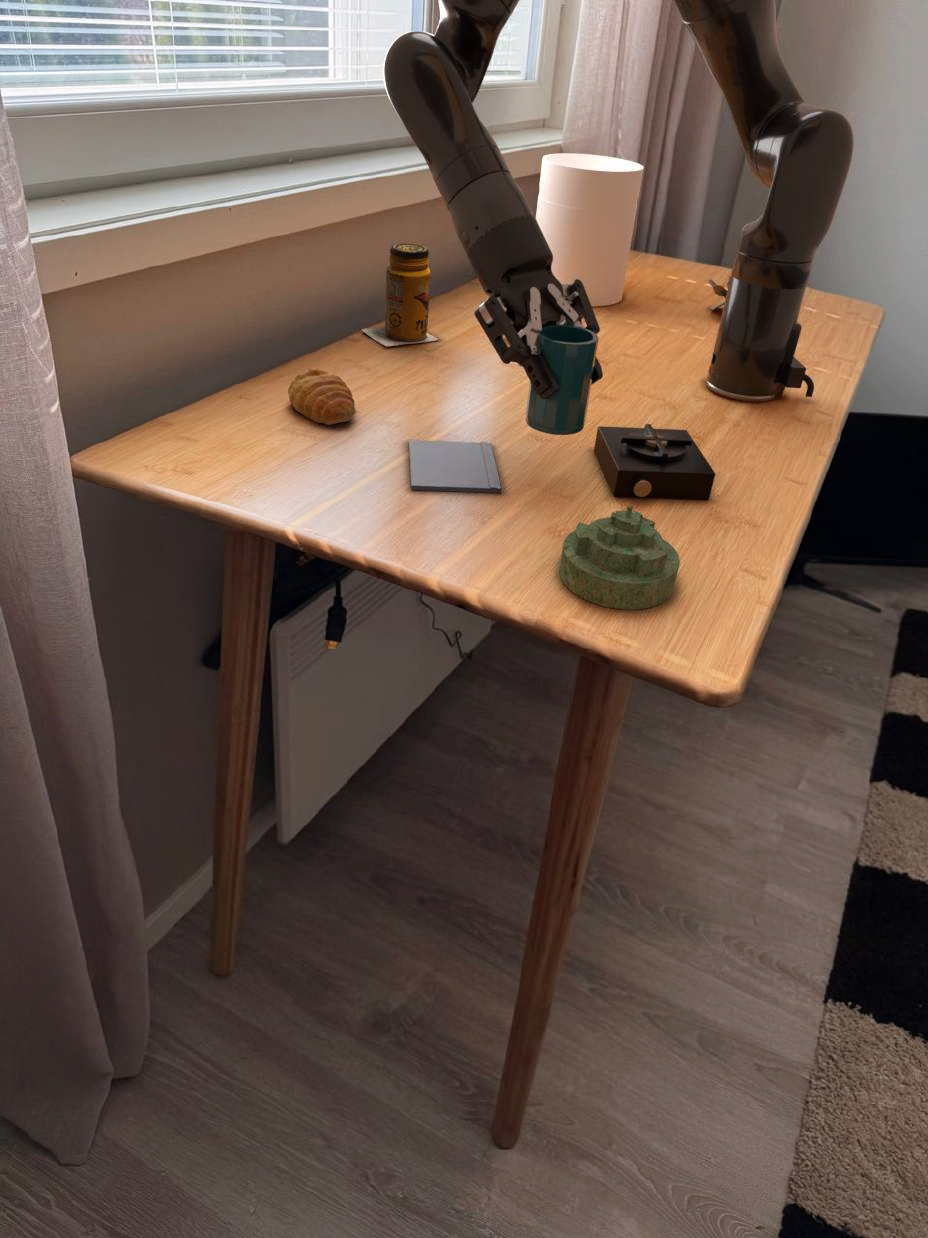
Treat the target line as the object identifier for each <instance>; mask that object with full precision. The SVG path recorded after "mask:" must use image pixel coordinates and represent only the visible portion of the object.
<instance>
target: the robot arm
mask: <svg viewBox="0 0 928 1238" xmlns="http://www.w3.org/2000/svg"><path fill="white" fill-rule="evenodd" d="M520 1H521V0H438V5H439V12H440V16H439V17H440V18H439V22H438V25H437V28H436V30H435V33H434V34H432V33H429V32H426V31H422V30H412V31H408V32H405V33H403V34H401V35H399V36H398V37H397V38H396V39H394V41H393V42H392V43H391V45H390V46H389V48H388V50H387V51H386V54H385V56H384V57H385V58H384V61H383V69H382V77H383V84H384V87H385V91H386V93H387V96H388V99H389V101H390V103H391V105H392V107H393V108H394V111H395V113H396V114H397V117H398V118H399V119H400V121H401V124H402V125H403V127H404V128H405V130H406V131H407V133H408V134H409V136H410V138H411V140H412V141H413V143H414V144H415V146H416V147H417V149H418V151H419V152H420V153H421V155H422V157H423V159H424V161H425V163H426V165H427V167H428V169H429V172H430V173H431V176H432V179H433V181H434V183H435V186H436V188H437V190H438V192H439V194H440V196H441V198H442V201H443V203H444V205H445V207H446V209H447V211H448V214H449V215H450V218H451V221H452V224H453V228H454V230H455V233H456V236H457V238H458V240H459V242H460V244H461V246H462V248H463V251H464V252H465V255H466V256H467V259H468V260H469V263H470V265H471V267H472V269H473V271H474V273H475V275H476V277H477V280H478V282H479V284H480V286H481V288H482V290H483V292H484V294H485V295H487V296H489V297H487V298H486V299H485V300H484V301H483V302H482V303H481V304H479V306H478V307H477V308H476V309H475V310H474V312H473V315H474V316H475V318H476V320H477V322H478V323H479V325H480V327H481V328H482V330H483V332H484V333H485V335H486V337H487V338H488V340H489V341H490V344H491V345H492V347H493V348H494V350H495V352H496V354H497V355H498V357H499V359H500V360H501V361H502V363H503V364H505V365H509V364H510V363H517V365H518V366H519V367H522V368H523V370H524V372H525V374H526V376H527V378H528V379H529V383H530V382H531V384H532V386H533V388H534V390H535V392H536V393H537V394H538V395H539V396H540V398H541V399H546V398H549V397H551V396H552V395H554V394H555V393H556V392H558V390H559V385H558V383H557V381H556V379H555V377H554V375H553V373H552V370H551V368H550V366H549V364H548V362H547V360H546V358H545V356H544V355H540V356H539V354H540V353H541V347H540V340H539V337H538V334H540V333H541V331H542V326H545V325H553V324H557V323H558V322H559V321H560V320H561V317H562V315H563V316H564V317H565V320H564V321H563V322H562V323H560V324H564V325H572V326H578V327H582V328H585V329H588V330H591V331H592V332H594V333H596V334H597V335H598V333H600V331H601V328H600V325H599V322H598V319H597V317H596V315H595V312H594V309H593V306H591V304H590V301H589V299H588V296H587V293H586V291H585V288H584V286H583V283H582V282H581V281H580V280H578V279H576V280H575V281H573V282H572V283H571V284H565V285H561V283H560V282H559V281H558V280H557V279H556V277H555V276H554V275H553V273H552V271H551V265H552V261H553V254H552V252H551V250H550V248H549V245H548V243H547V241H546V239H545V237H544V235H543V233H542V231H541V229H540V227H539V225H538V223H537V220H536V215H535V214H534V212H533V210H532V208H531V206H530V203H529V202H528V200H527V197H526V195H525V194H524V192H523V191H522V189H521V187H520V186H519V185H518V183H517V181H516V180H515V179H514V177H513V175H512V173H511V170H510V169H509V167H508V165H507V163H506V160H505V158H504V156H503V154H502V152H501V150H500V148H499V146H498V144H497V142H496V140H495V139H494V137H493V136H492V134H491V132H490V130H488V128H487V127H486V126H485V124H484V123H483V122H482V120H481V119H480V117H479V115H478V113H477V111H476V109H475V107H474V105H473V104H474V103H475V100H476V98H477V96H478V94H479V92H480V89H481V87H482V84H483V81H484V79H485V77H486V73H487V71H488V68H489V66H490V64H491V62H492V61H491V60H492V58H493V55H494V52H495V49H496V45H497V42H498V40H499V37H500V34H501V33H502V30H503V29H504V28H505V26H506V24H507V23H508V21H509V20H510V17H511V16H512V15H513V13H514V11H515V10H516V8H517V7H518V4H519V3H520ZM672 2H673V4H674V6H675V8H676V10H677V12H678V14H679V16H680V18H681V20H682V22H683V23H684V25H685V27H686V29H687V31H688V33H689V34H690V36H691V38H692V40H693V41H694V43H695V45H696V47H697V50H698V51H699V54H700V55H701V58H702V60H703V61H704V63H705V65H706V67H707V69H708V71H709V72H710V74H711V76H712V78H713V79H714V82H715V83H716V84H717V87H718V89H719V90H720V92H721V94H722V97H723V99H724V101H725V104H726V105H727V108H728V110H729V113H730V116H731V119H732V122H733V124H734V127H735V129H736V132H737V135H738V138H739V140H740V144H741V148H742V150H743V153H744V155H745V158H746V161H747V163H748V166H749V168H750V170H751V171H752V173H753V175H754V176H755V177H756V178H757V179H758V181H759V182H760V183H762V184H764V185H765V186H767V187H769V192H768V195H767V198H766V201H765V205H764V208H763V211H762V213H761V215H760V216H759V217H758V218H757V219H756V220H752V221H749V222H747V223H745V225H744V226H743V227H742V228H741V231H740V235H739V239H738V243H737V248H736V250H735V251H736V252H735V256H734V261H733V263H732V269H731V274H730V282H729V286H728V288H727V289H726V290H727V295H726V298H724V301H725V303H724V305H723V309H722V313H721V316H720V321H719V324H718V325H719V326H718V330H717V334H716V337H715V343H714V348H712V350H711V353H710V365H709V367H708V373H707V376H706V380H705V386H706V387H707V388H708V389H709V390H710V391H712V392H714V393H716V394H717V395H720V396H723V397H725V398H729V399H733V400H737V401H744V402H754V403H755V402H758V403H759V402H768V401H771V400H775V399H778V400H779V399H783V396H784V393H785V389H786V388H788V389H801V388H802V384H803V382H804V383H805V384H806V388H807V389H806V392H805V398H813V394H814V391H815V384H814V381H813V379H812V378H811V377H810V376H809V374H806V371H807V368H806V367H805V365H804V364H803V363H802V362H801V361H799V359H797V358H796V357H795V354H796V350H797V346H798V343H799V340H800V336H801V332H802V325H801V324H800V323H799V322H798V319H799V316H800V315H799V314H800V311H801V307H802V304H803V300H804V297H805V293H806V289H807V286H808V282H809V279H810V275H811V271H812V268H813V264H814V261H815V258H816V254H817V252H818V251H817V250H818V248H819V246H820V245H821V243H822V242H823V241H824V239H825V238H826V236H827V235H828V233H829V231H830V229H831V227H832V223H833V220H834V218H835V215H836V212H837V208H838V206H839V203H840V199H841V197H842V194H843V192H844V191H843V190H844V188H845V186H846V185H845V184H846V181H847V178H848V175H849V171H850V168H851V164H852V160H853V156H854V155H853V154H854V144H855V141H854V132H853V128H852V125H851V123H850V122H849V120H848V118H847V117H845V115H844V114H842V113H840V112H839V111H837V110H834V109H830V108H827V107H824V106H819V105H814V104H810V103H808V101H806V100H805V99H804V97H803V95H802V94H801V93H800V91H799V89H798V87H797V86H796V84H795V82H794V80H793V79H792V76H791V74H790V73H789V71H788V67H787V66H786V64H785V62H784V60H783V57H782V54H781V50H780V48H779V42H778V34H777V33H778V32H777V7H776V0H672ZM583 319H584V322H585V324H586V325H585V326H584V325H583V323H582V320H583ZM504 337H505V338H506V340H507V342H508V343H509V346H508V345H507V343H506V341H505V340H504ZM603 376H604V373H603V368H602V365H601V363H600V361H599V359H598V357H597V356H596V358H595V364H594V371H593V377H592V383H591V386H592V385H594V384H596V383H597V382H598V381H600V380H602V379H603Z"/></svg>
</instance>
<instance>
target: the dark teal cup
mask: <svg viewBox="0 0 928 1238" xmlns="http://www.w3.org/2000/svg"><path fill="white" fill-rule="evenodd" d="M538 337H539V340H540V347H541V353H540V354H539V356H540V355H544V356H545V358H546V360H547V362H548V364H549V366H550V368H551V370H552V373H553V375H554V377H555V379H556V381H557V383H558V385H559V390H558V392H556V393H555V394H554V395H552V396H551V397H549V398H546V399H541V398H540V396H539V395H538V394H537V393H536V392H535V390H534V388H533V386H532V384H531V382H530V381H529V384H528V393H527V401H526V409H525V423H526V424H527V426H528V427H530V428H531V429H532V430H535V431H538V432H539V433H543V434H548V435H555V436H569V435H574V434H578V433H580V432H582V431H583V430H584V427H585V423H586V418H587V412H588V407H589V401H590V394H591V388H592V385H591V383H592V377H593V371H594V364H595V358H596V357H597V351H598V346H599V340H600V338H599V336H598V333H597V334H596V333H594V332H592V331H591V330H588V329H585V328H582V327H578V326H572V325H564V324H553V325H545V326H542V331H541V333H540V334H538Z"/></svg>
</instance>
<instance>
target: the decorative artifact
mask: <svg viewBox="0 0 928 1238" xmlns="http://www.w3.org/2000/svg"><path fill="white" fill-rule="evenodd" d="M633 508H634V506H633V505H631V504H628V505H627V506H626V510H615V511H612V512H611V515H610V516H607V517H601V518H598V519H595V520H593V521H591V522H590V523H584V522H580V521H579V522H578V523H577V525H576V529H574V530H573V531H571V532H569V533H568V534H567V536H566V537H565V538H564V540H563V543H562V549H561V557H560V563H559V570H558V573H559V577H560V580H561V582H562V583H563V584H564V586H565V587H566V588H567V589H568V590H569V591H570V592H571V593H573V594H574V595H576V596H578V597H579V598H581V599H583V600H585V601H587V602H589V603H593V604H594V605H598V606H601V607H606V608H609V609H616V610H628V611H629V610H630V611H633V610H644V609H650V608H654V607H657V606H659V605H661V604H663V603H664V602H666V601H667V600H669V598H670V597H671V596H672V594H673V592H674V589H675V585H676V581H677V576H678V573H679V568H680V565H681V564H680V563H681V560H680V555H679V553H678V552H677V550H676V548H674V547H673V545H671V544H670V543H669V542H668V541H667V540H665V539H663V536H662V534H661V533H660V532H659V531H658V530H657V528H655V525H656V522H655V521H653V520H651V519H649V518H646V517H644V515H643V514H642V513H641V512H639V511H637V510H634V511H633Z"/></svg>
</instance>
